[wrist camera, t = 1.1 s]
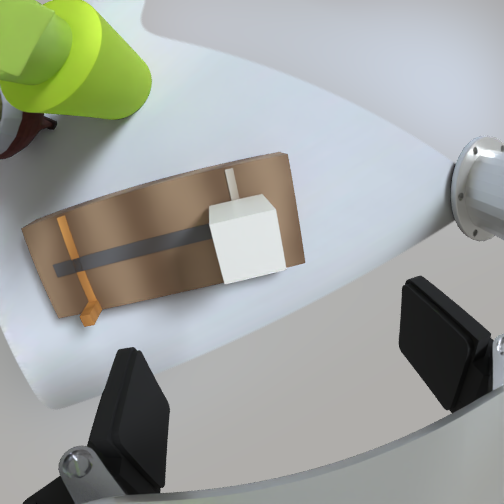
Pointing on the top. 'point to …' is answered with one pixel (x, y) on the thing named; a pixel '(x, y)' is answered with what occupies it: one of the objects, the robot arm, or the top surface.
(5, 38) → the soap dispenser
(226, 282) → the fader knob
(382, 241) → the top surface
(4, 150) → the mate gourd
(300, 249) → the fader console
